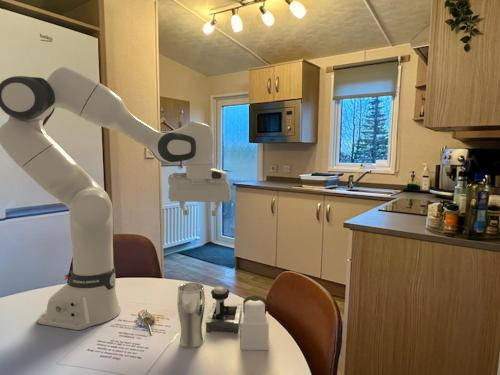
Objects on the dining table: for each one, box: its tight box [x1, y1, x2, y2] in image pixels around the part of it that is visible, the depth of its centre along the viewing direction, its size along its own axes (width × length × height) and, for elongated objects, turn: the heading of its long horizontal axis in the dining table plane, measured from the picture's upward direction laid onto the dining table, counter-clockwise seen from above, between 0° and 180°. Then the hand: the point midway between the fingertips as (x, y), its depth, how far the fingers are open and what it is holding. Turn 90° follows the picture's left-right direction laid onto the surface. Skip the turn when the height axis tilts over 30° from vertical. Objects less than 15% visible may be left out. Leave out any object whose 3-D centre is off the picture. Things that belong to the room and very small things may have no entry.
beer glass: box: [176, 282, 206, 350], centre depth 88 cm, size 7×7×15 cm
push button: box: [210, 285, 230, 320], centre depth 99 cm, size 7×5×10 cm
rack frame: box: [205, 302, 243, 335], centre depth 99 cm, size 9×12×3 cm
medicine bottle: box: [239, 295, 270, 352], centre depth 88 cm, size 7×7×12 cm
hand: (200, 215), depth 110 cm, fingers open, 8 cm apart
